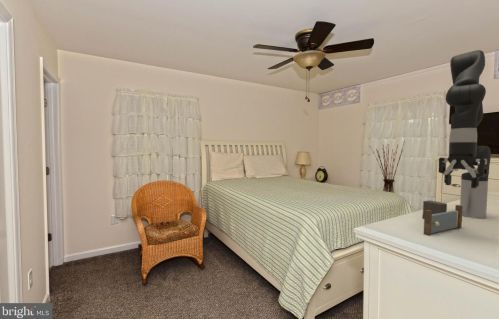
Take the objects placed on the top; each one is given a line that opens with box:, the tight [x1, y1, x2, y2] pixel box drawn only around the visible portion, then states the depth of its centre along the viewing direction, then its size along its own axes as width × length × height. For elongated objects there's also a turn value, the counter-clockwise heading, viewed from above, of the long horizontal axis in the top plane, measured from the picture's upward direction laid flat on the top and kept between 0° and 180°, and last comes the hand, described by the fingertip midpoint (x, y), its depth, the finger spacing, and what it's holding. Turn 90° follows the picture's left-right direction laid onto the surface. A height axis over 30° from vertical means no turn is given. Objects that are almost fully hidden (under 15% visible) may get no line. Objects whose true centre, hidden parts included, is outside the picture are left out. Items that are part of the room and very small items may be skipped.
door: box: [431, 210, 458, 234], centre depth 92 cm, size 18×3×6 cm, turn 113°
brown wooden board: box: [423, 204, 463, 236], centre depth 93 cm, size 21×2×9 cm, turn 113°
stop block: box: [422, 200, 448, 220], centre depth 107 cm, size 4×7×8 cm, turn 23°
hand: (460, 186), depth 88 cm, fingers open, 7 cm apart
